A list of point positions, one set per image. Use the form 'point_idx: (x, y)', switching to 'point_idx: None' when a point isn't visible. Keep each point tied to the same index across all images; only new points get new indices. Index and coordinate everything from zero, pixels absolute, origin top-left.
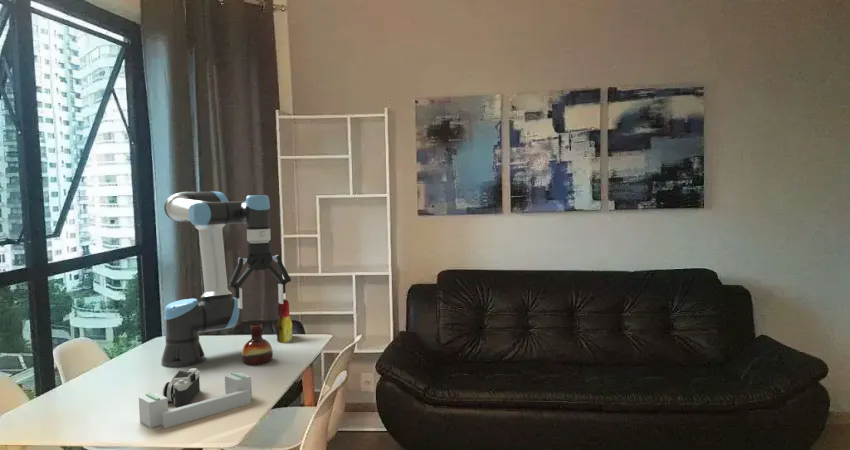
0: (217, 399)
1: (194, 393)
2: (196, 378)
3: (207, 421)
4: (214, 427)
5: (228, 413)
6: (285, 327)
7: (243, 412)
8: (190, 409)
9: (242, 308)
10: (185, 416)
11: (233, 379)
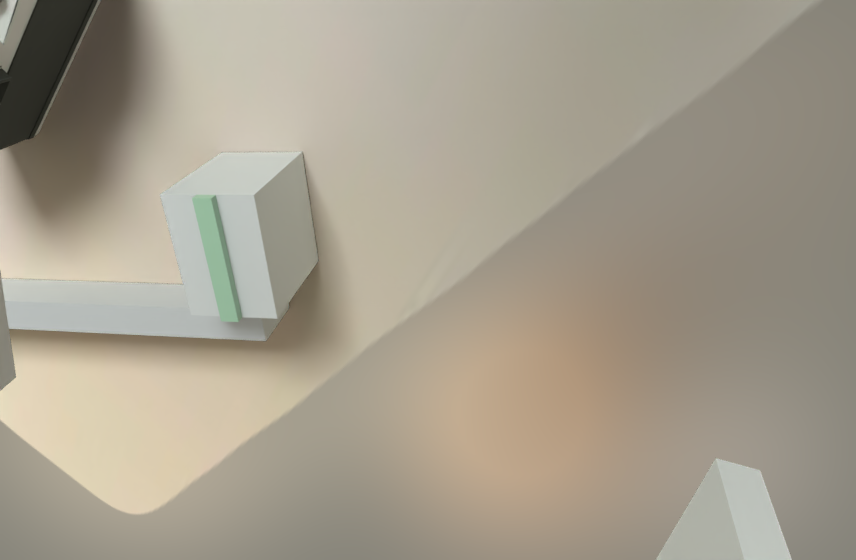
0: (109, 333)
1: (66, 37)
2: (32, 3)
3: (91, 347)
4: (102, 410)
5: None
6: None
7: (227, 370)
8: None
9: (15, 376)
10: None
11: (185, 285)
